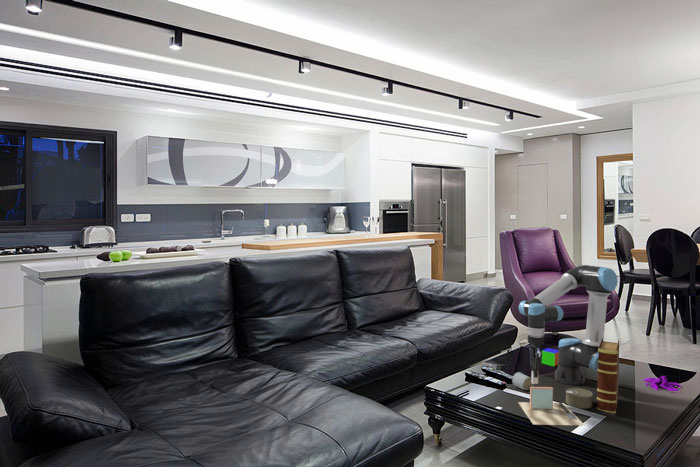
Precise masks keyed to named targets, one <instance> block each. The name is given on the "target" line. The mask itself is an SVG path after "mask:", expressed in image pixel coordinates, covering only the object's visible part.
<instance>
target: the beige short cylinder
mask: <svg viewBox="0 0 700 467" xmlns="http://www.w3.org/2000/svg"><path fill="white" fill-rule="evenodd" d="M564 392H565V403H566V404H567V406H571V407H572V408H577V409H590V408H593V396H594V393H593V392H592V391H590V390H588V389H586V388H580V387H567V388H566V389H565V391H564Z"/></svg>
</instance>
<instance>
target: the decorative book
mask: <svg viewBox="0 0 700 467" xmlns="http://www.w3.org/2000/svg"><path fill="white" fill-rule="evenodd" d="M619 371H620V340H619V339H618V341H617V342H614V341H613V342H611V341H604V339H602V340H601V343H600V346H599V348H598V371H597V388H596V392H597V394H596V396H597V397H596V400H597V401H596V402H597V403H596V405H597V406H596V409H597V410H599V411H603V412H604V413H605V412H606V413H611V414H612V413H616V414H617V408H618V407H617V406H618V400H619V380H620V378H619V376H620V373H619Z"/></svg>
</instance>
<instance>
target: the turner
mask: <svg viewBox="0 0 700 467" xmlns="http://www.w3.org/2000/svg"><path fill="white" fill-rule="evenodd" d="M558 403H559V405H560V406H561V407H562V409H563V410H564V411H565V412H566V413H564V414H565V415H566V416H567V417H568V418H569V419H577V417H578V416H577V417H576V416H575V415H576V414H575V413H574V412H573V413H574V414H575V415H574V414H573V413H570V412H569V411H568V410H567V408H566V407H565V406H564V405H563V404H562V403H563V402H558Z"/></svg>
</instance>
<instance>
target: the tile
mask: <svg viewBox="0 0 700 467" xmlns="http://www.w3.org/2000/svg"><path fill="white" fill-rule="evenodd" d="M529 402H530V408H531V409H553V403H554V388H553V387H552V386H534V387H530V390H529Z"/></svg>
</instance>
